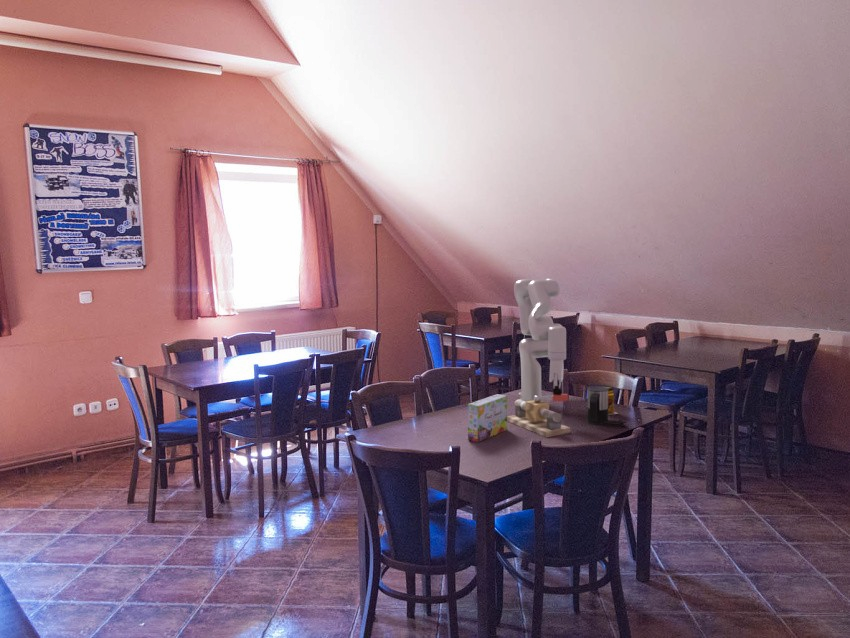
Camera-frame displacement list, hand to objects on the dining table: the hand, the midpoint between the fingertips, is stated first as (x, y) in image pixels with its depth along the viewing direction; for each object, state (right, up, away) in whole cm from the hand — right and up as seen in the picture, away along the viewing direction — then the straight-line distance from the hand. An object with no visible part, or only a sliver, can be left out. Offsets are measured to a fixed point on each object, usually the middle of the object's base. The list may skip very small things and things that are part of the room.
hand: (557, 397), depth 273 cm
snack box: (-31, -14, -12) cm, 36 cm away
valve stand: (-9, -12, -3) cm, 15 cm away
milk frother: (+21, -11, -1) cm, 23 cm away
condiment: (+25, -9, +16) cm, 31 cm away
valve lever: (-3, -1, -3) cm, 5 cm away
